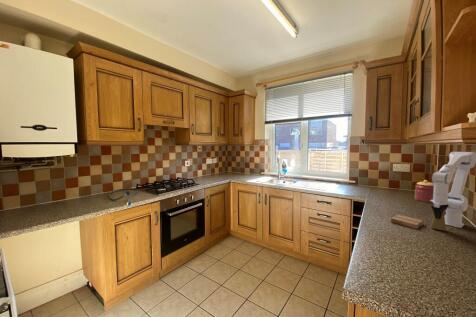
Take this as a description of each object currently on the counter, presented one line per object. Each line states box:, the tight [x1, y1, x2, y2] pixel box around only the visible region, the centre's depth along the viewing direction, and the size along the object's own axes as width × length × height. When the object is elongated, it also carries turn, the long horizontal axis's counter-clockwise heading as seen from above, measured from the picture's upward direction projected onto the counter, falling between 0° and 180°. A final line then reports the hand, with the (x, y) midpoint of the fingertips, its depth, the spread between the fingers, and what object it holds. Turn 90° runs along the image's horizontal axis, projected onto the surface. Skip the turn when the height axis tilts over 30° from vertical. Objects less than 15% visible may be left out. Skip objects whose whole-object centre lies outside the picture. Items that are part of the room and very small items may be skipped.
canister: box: [413, 179, 434, 203], centre depth 169 cm, size 13×13×18 cm
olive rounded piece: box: [430, 210, 447, 231], centre depth 112 cm, size 6×6×11 cm
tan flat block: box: [390, 214, 424, 230], centre depth 121 cm, size 12×12×2 cm
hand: (439, 217), depth 112 cm, fingers closed on olive rounded piece, 5 cm apart
